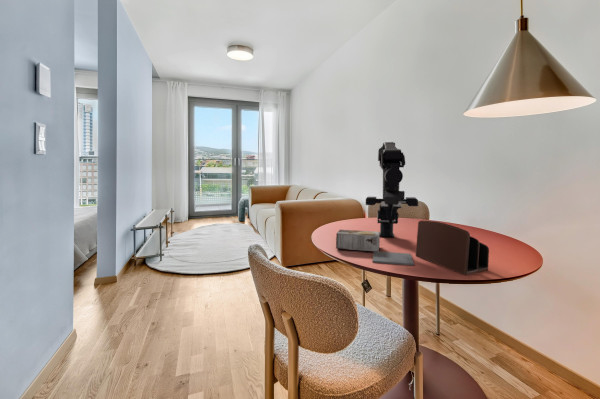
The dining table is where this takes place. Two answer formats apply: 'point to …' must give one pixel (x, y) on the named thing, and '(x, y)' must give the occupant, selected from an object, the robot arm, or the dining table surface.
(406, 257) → the mat
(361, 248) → the coffee box
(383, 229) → the robot arm
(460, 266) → the letter holder
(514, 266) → the dining table surface
